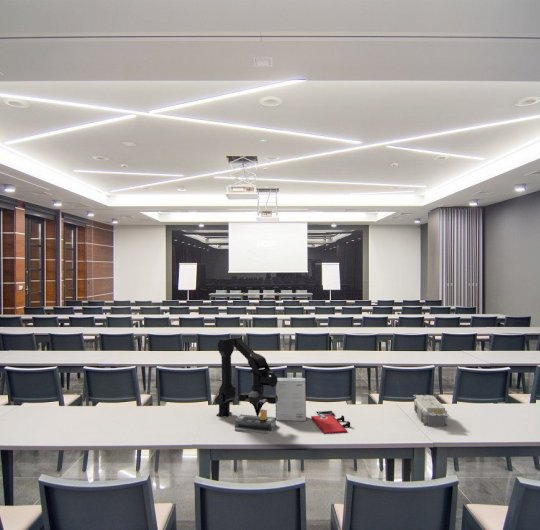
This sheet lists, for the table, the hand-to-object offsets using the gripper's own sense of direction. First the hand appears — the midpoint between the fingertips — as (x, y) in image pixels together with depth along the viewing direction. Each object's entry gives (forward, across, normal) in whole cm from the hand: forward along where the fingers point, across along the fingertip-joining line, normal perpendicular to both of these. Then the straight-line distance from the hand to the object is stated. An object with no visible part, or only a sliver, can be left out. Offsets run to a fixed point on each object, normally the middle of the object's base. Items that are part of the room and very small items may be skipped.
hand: (257, 415), depth 203 cm
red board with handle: (+6, +33, +16) cm, 37 cm away
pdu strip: (+5, -1, 0) cm, 5 cm away
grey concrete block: (+5, +81, +33) cm, 88 cm away
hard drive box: (+5, +13, +16) cm, 21 cm away
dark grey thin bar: (+5, -1, -6) cm, 8 cm away
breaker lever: (+1, +3, 0) cm, 3 cm away
